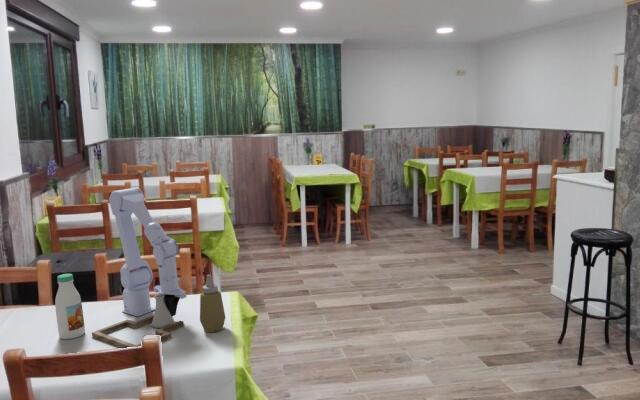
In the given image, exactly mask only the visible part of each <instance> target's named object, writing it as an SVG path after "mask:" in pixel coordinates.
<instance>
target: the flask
mask: <svg viewBox="0 0 640 400" xmlns="http://www.w3.org/2000/svg"><path fill="white" fill-rule="evenodd" d="M164 297H165V295H164V294H163V295H160V294H156V295H154V300H155V308H156V309H155V310H154V313H153V315H154V317H153V321H152V322H151V328H152V327H153V328H155V329H161V328H164V327H166V326H169V325H171V324H173V323H175V319H174V316H172V315H171V314H170V312H169V310H168V308H167V306H166V303H165V300H164Z"/></svg>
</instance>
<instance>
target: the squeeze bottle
mask: <svg viewBox="0 0 640 400" xmlns="http://www.w3.org/2000/svg"><path fill="white" fill-rule="evenodd" d="M218 288H219V287H218V285H217V284H214V281H213V277H212V275H211V274H207V275H206V281H205V285H203V286H202V293H201V294H200V298H199V300H200V301H199V322H200V324H201V326H202V329H203V330H204V332H206V333H217V332H219V331H222V329H223V328H224V324H225V320H226V313H225V307H224V304H223V302H224V301H223V298H222V292H220V291H219V289H218Z"/></svg>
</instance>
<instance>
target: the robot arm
mask: <svg viewBox="0 0 640 400" xmlns="http://www.w3.org/2000/svg"><path fill="white" fill-rule="evenodd" d="M108 201H109V202H108V203H109V206H110V210H111V214H112V215H113V216H114V218H115V222H116V227H117V231H118V234H119V239H120V243H121V246H122V250H123V252H122V253H123V255H124V259H125V263H124V264H123V265H122V266H121V268H120V270H119V272H120V282H121V286H122V287H123V288H124V289H123V291H122V302H123V303H122V304H123V310H121V312H123V313H124V314H125V313H126V314H128V315H130V316H131V315H132V316H135V317H139V316H142V315H143V316H144V315H145V314H148V313H151V312H153V311H154V312H155V309H156V307H154V306H151V296H150V286H151V283H152V281H153V279H154V274H153V271H152V269H151V268H150V264H149V262H148V261H146V260H144V259H142V256H141V253H140V249H139V244H138V239H137V235H136V231H135V227H134V222H133V218H132V215H133V214H134V216H135V217H136V218H137V220H138V221H139V223H141V225H142V226H143V228H144V230H143V234H144V235H145V237H146V238H147V239H148V241H149V242H150V244H151V246H152V247H153V250H152V254H153V257H154V258H155V263H156V265H157V267H158V277H159V284H158V285H155V286H153V292H154V293H158V294H160V295H163V294H164V295H165V297H164V300H165V303H166V306H167V308H168V310H169V312H170V314H171V315H172V317H174V316H176V314H177V309H178V304H179V302H180V300H183V299H185V298H187V292H186V291H184V290H183V289H182V288H180V287H179V282H178V269H177V261H176V256H177V255H178V254H179V246H178V243H177V241H176V240H175V239H173V238H171V237H170V236H168V235H167V233H166V232H165V231H164V229H163V228H162V226H161V224H160V223H159V222H155V221H154V220H153V218H152V215H151V213H150V212H149V210H148V209H147V207H146V204H145V195H144V193H143V191H142V190H141V188H139V187H137V186H136V187H135V186H134V187H131V188H125V189H119V190H113V191H112V192H111V193H110V196H109V198H108ZM158 294H157V295H158Z"/></svg>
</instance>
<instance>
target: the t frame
mask: <svg viewBox="0 0 640 400" xmlns="http://www.w3.org/2000/svg"><path fill="white" fill-rule="evenodd" d="M153 317H154V314H153V315H151V316H148V317H145V318H142V319H139V320H137V321H134V320H130V319H125V320H122V321H119V322H118V323H114V324H112V325H108V326H107V327H103V328H101V329H98V330H96V331H92V332H91V337H92V338H93V339H97V340H99V341H101V342H105V343H108V344H110V345H113V346H115V347H118V348H120V349H123V348H127V347H138V346H141V343H139V344H137V345H136V344H134V343H131V342H128V341H125V340H123V339H119V338H117V337H114V336H111V335H109V334H110V333H112V332H114V331H119V330H120V329H122V328H125V327H129V328H131V329H138V328H140V327H143V326H145V325H148V324H152V321H153ZM184 326H185V323H184V321H182V320H179V321H177V322H173V324H171V325H169V326H166V327H164V328H158V329H156V330H154V332H155V336H156V335H160V336H161V342H160V343H162V342H165V341H167V340H170V339H171V338H172V332H173V331H175V330H177V329H180V328H182V327H184Z"/></svg>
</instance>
